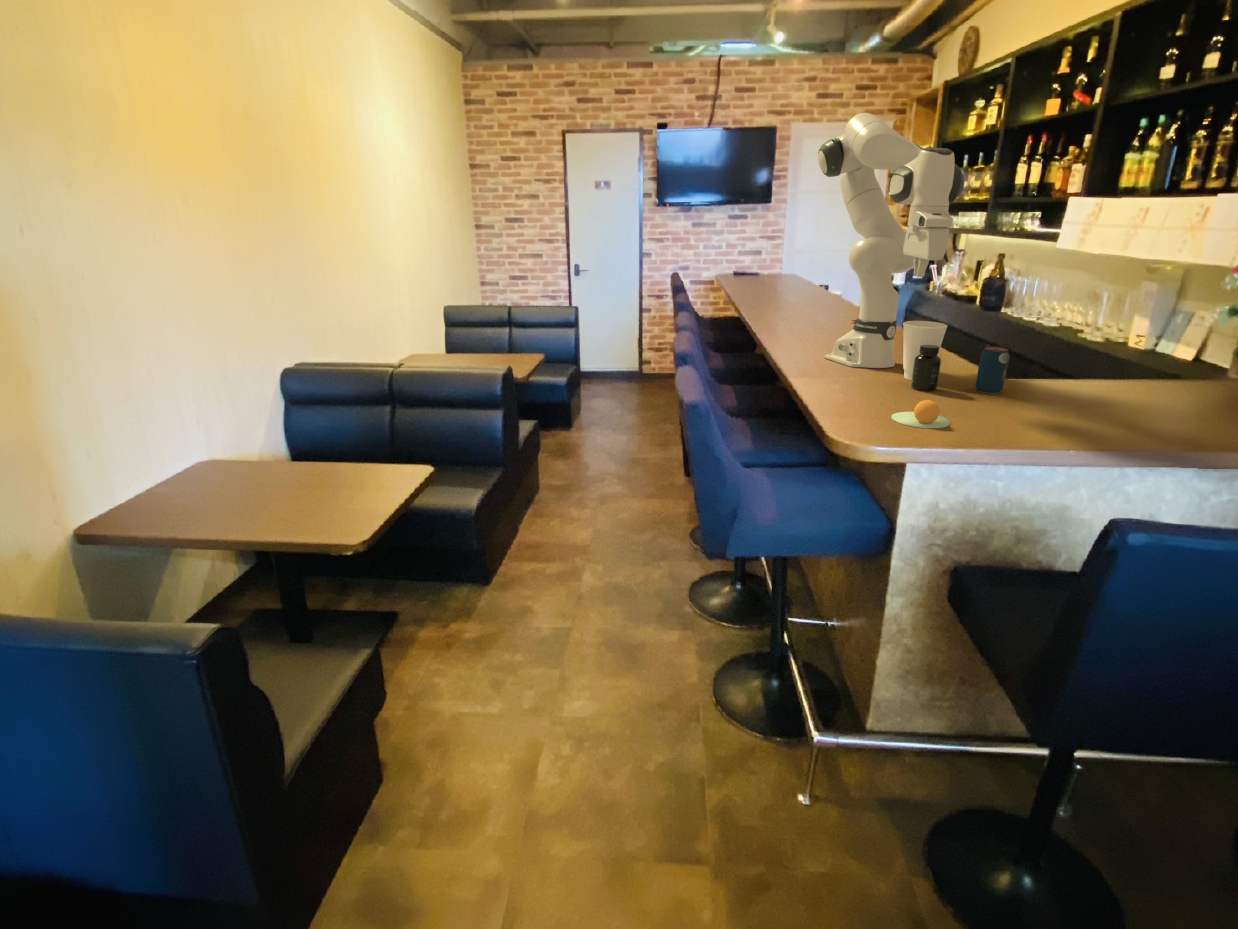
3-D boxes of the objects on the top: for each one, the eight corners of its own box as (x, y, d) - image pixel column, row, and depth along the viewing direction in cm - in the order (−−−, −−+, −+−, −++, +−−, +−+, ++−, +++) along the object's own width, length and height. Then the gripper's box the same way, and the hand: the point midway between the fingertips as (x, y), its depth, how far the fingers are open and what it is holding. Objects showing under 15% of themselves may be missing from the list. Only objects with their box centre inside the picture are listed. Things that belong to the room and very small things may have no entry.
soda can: (1007, 394, 189) (1016, 351, 184) (981, 394, 189) (989, 350, 185) (994, 388, 195) (1003, 345, 191) (969, 388, 195) (977, 345, 191)
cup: (886, 375, 210) (894, 321, 204) (919, 372, 213) (927, 319, 207) (913, 384, 199) (922, 328, 193) (947, 381, 202) (957, 326, 197)
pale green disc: (879, 417, 168) (879, 416, 168) (914, 409, 175) (914, 408, 175) (926, 431, 158) (926, 430, 158) (961, 423, 164) (961, 422, 164)
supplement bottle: (932, 386, 197) (939, 344, 193) (940, 392, 191) (947, 348, 187) (907, 385, 198) (913, 343, 194) (914, 391, 192) (921, 348, 187)
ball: (906, 417, 166) (913, 401, 162) (922, 408, 168) (930, 391, 163) (923, 431, 163) (931, 415, 159) (940, 422, 165) (948, 406, 160)
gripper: (901, 217, 182) (893, 272, 187) (928, 219, 163) (919, 280, 168) (925, 218, 182) (917, 272, 187) (956, 219, 163) (946, 280, 168)
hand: (918, 276), depth 177 cm, fingers closed
